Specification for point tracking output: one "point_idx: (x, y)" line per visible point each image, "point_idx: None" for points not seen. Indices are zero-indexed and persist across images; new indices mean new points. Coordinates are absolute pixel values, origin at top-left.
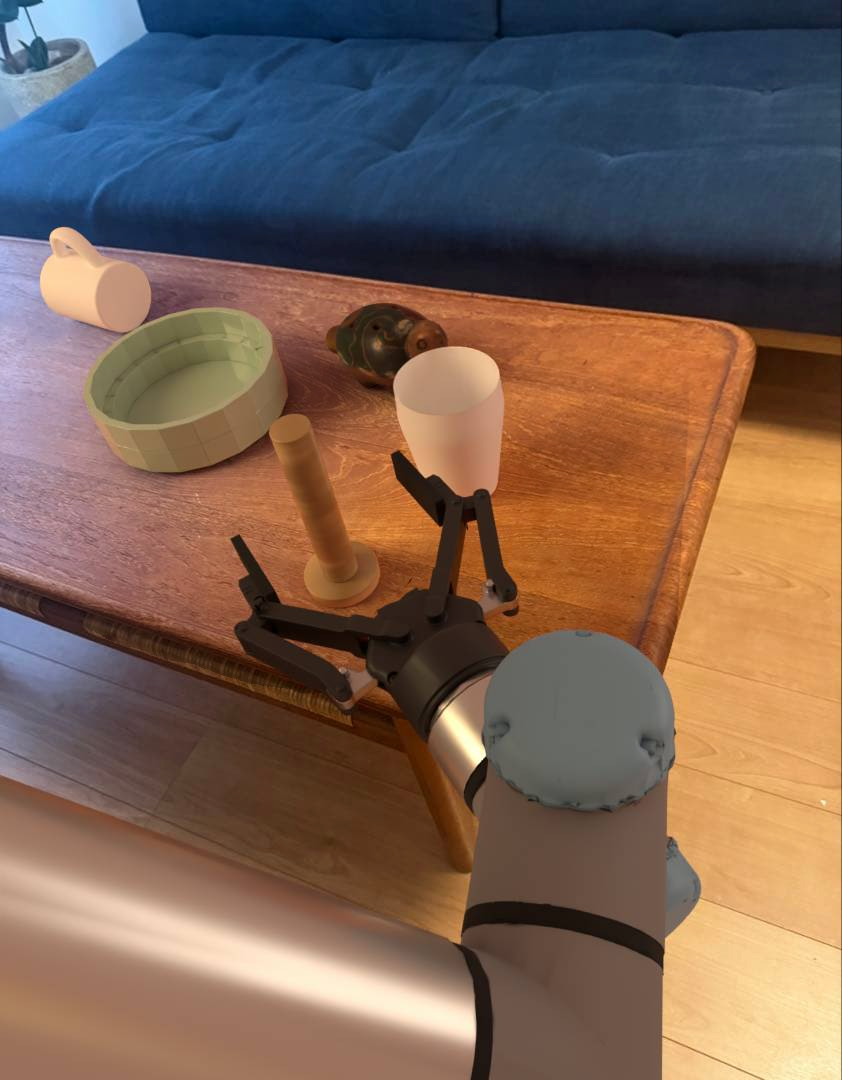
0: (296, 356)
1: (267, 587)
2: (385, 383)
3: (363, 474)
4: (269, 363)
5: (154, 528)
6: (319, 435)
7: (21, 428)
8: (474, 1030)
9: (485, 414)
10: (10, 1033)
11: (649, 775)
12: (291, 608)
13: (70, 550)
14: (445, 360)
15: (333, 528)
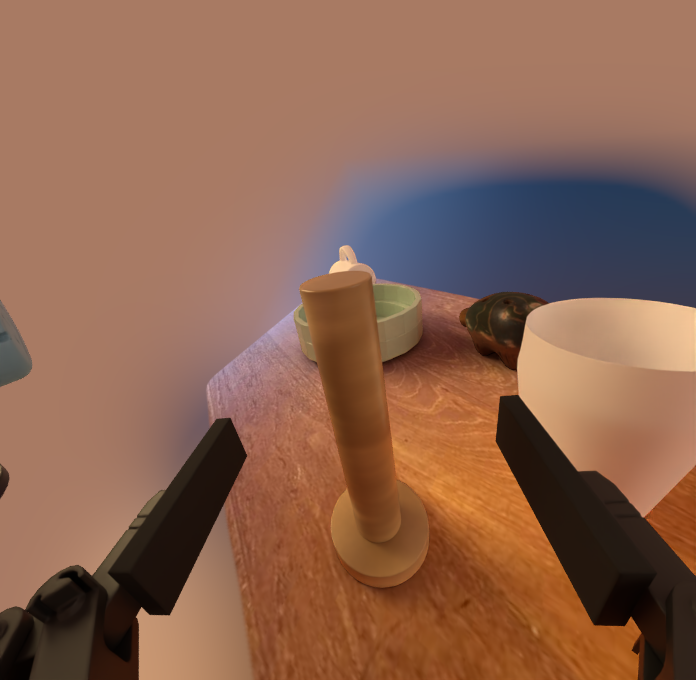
0: (436, 326)
1: (134, 549)
2: (501, 350)
3: (452, 418)
4: (409, 311)
5: (282, 393)
6: (428, 374)
7: (281, 324)
8: None
9: None
10: None
11: None
12: (76, 677)
13: (235, 386)
14: (607, 318)
15: (369, 471)
